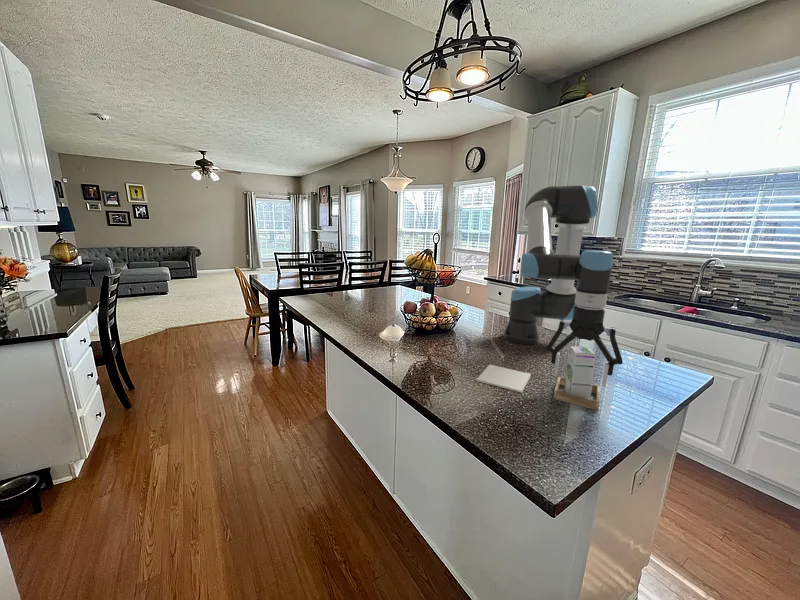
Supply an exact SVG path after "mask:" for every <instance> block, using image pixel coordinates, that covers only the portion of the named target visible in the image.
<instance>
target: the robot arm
mask: <svg viewBox="0 0 800 600" xmlns="http://www.w3.org/2000/svg"><path fill="white" fill-rule="evenodd" d="M598 203H599V202H598V193H597V189H596V188H595V187H594V186H592V185H583V184H581V185H563V186H562V185H559V186H557V185H553V186H552V185H551V186H547V187H544V188H542V189H539V190H538V191H536V192H535V193H534V194H532V196H531V197H530V198H529V199H528V201H527V202H526V205H525V207H524V217H525V220H526V221H527V238H526V239H527V243H526V245H527V246H526V247H527V249H526V250H527V253H523V254H522V256H521V260H520V271H519V272H520V276H522V277H524V278H529V279H530V278H531V279H546V280H547V279H549V280H551V282H550V284H549V285H547V286H546V289H545V290H541V287H539V286H521V287H520V286H519V287H516V288H514V289H512V292H511V296H510V306H509V315H508V322H507V324H506V326H505V328H504V330H503V334H502V335H503V336H502V337H503V338H504V339H505V340H507V341H508V342H512V343H516V344H520V345H521V344H522V345H535V344H538V343H539V342H540V333H539V328H538V325H537V323H538V319H539V318H540V319H549V320H550V319H551V320H559V321H560V322H559V324H558V328H557V329H556V331H555V333H554V335H553V336H552V338H551V339H550V341H549V343H548V344H547V345H546V348H545V350H546V351H547V352H550V353H551V364H552V365H554V370H553V376H555V377H557V375H558V371H559V363H560V356H561V352H560V351H561V350H562V349H563V348H564V347H566V346H567V345H568V344H569V343H570V342H571V341H573V340H575V338H577V339H579V340H586V341H593V340H594V342H595V344H596V345H597V347H598V348H599V351H601V353H602V354H603V357H604V358H605V359H606V361H605V364H604V368H603V369H604V370H603V375H602V382H601V385H602V387H603V388H605V387H607V386H606V384H607V379H608V376H611V377H612V375H613V373H614V367H615V365H623V357H622V355H621V351H620V348H619V345H618V342H617V339H616V327H613V326H612V327H605V326H604V319H605V313H606V310H605V308H606V307H607V301H608V300H607V299H608V292H609V286H610V280H611V275H612V269H613V267H614V264H613V261H614V259H613V258H614V254H613V252H611V251H609V250H608V251H606V250H594V249H593V250H592V249H591V250H590V249H589V250H588V249H587V250H583V251H582V252H581V251H580V250H581V246H582V240H583V234H584V228H585V227H586V226H588V225H589V224H590V221H591V220H592V219H594V218H595V217H596V215H597V212H598ZM553 218H554V219H555V224H556V225H558V233H557V241H556V245H555V246H556V247H555V248H556V249H555V253H553V252H554V251H553V240H552V226H551V219H553ZM580 252H581V254H580ZM575 281H577V282H576V284H577V285H576V287H575ZM568 327H569V328H570V330H571V331H572V332H570V333H569V334H568V336H566V337H565V338H564V339H563V340H561V342H560V343H558V344H557V345H556V346H555V347H554V345H555V343H556V342H557V340H558V339H559V337H560V336H561V334H562V333H563V330H566V329H567V328H568ZM603 333H606V336H608V337H609V340H610V344H611V346H612V350H613V354H614V356H615V358H613V356H612V354H611V352H610V351H609V350H608V348H607V347H606V345H605V344H604V343H605V342H604V341H603V340H602V338H601V334H603Z"/></svg>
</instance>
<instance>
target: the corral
mask: <svg viewBox="0 0 800 600" xmlns="http://www.w3.org/2000/svg"><path fill="white" fill-rule="evenodd" d="M565 380H566V377H561V376H558V377H557V381H556V384H555V388H554V390H553V397H552V398H553V400H557V401H561V402H564V403H569V404H572V405H576V406H581V407H584V408H588V409H591V410H595V411H599V407H600V401H601V400H600V399H601V396H600V395H601V385H599V384H592V392H591V394H592V393H593V394H595V395H596V397H595V399H592V398H590V399H589V398H585V397H581V396H577V395H573V394H569V393H566V392H565V391H561V390H559V388H560V386H563V387H565Z"/></svg>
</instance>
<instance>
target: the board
mask: <svg viewBox="0 0 800 600" xmlns="http://www.w3.org/2000/svg"><path fill="white" fill-rule="evenodd" d="M531 375H532V374H531V373H528V372H524V371H521V370H515V369H512V368H507V367H501V366H497V365H493V364H488V366H487V367H486V368H485V369H484V370H483V372H482V373H480V375H478V377H477V378H476V382H479V383H484V384H485V385H486V384H487V385H489V386H495V387H498V388H502V389H506V390H510V391H513V392H518V393H521V394H522V393H523V392H524V390H525V388H526V385H528V382H529V380H530V377H531Z"/></svg>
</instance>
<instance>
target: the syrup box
mask: <svg viewBox="0 0 800 600" xmlns="http://www.w3.org/2000/svg"><path fill="white" fill-rule="evenodd" d="M567 356H568V357H567V365H566V373H565V378H566V380H565V386H564V388H563V389H564V391H563V392H565V393H569V394H573V395H577V396H581V397H585V398H589V399H592V398H591V396H592V384H593V383H594V377H595V376H594V375H595V369H596V362H597V360H596V359H597V354H596V353H595V352H594V351H593V350H592V349H591V348H590V347H587V346H571V345H570V346H569V347H568V355H567Z"/></svg>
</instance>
